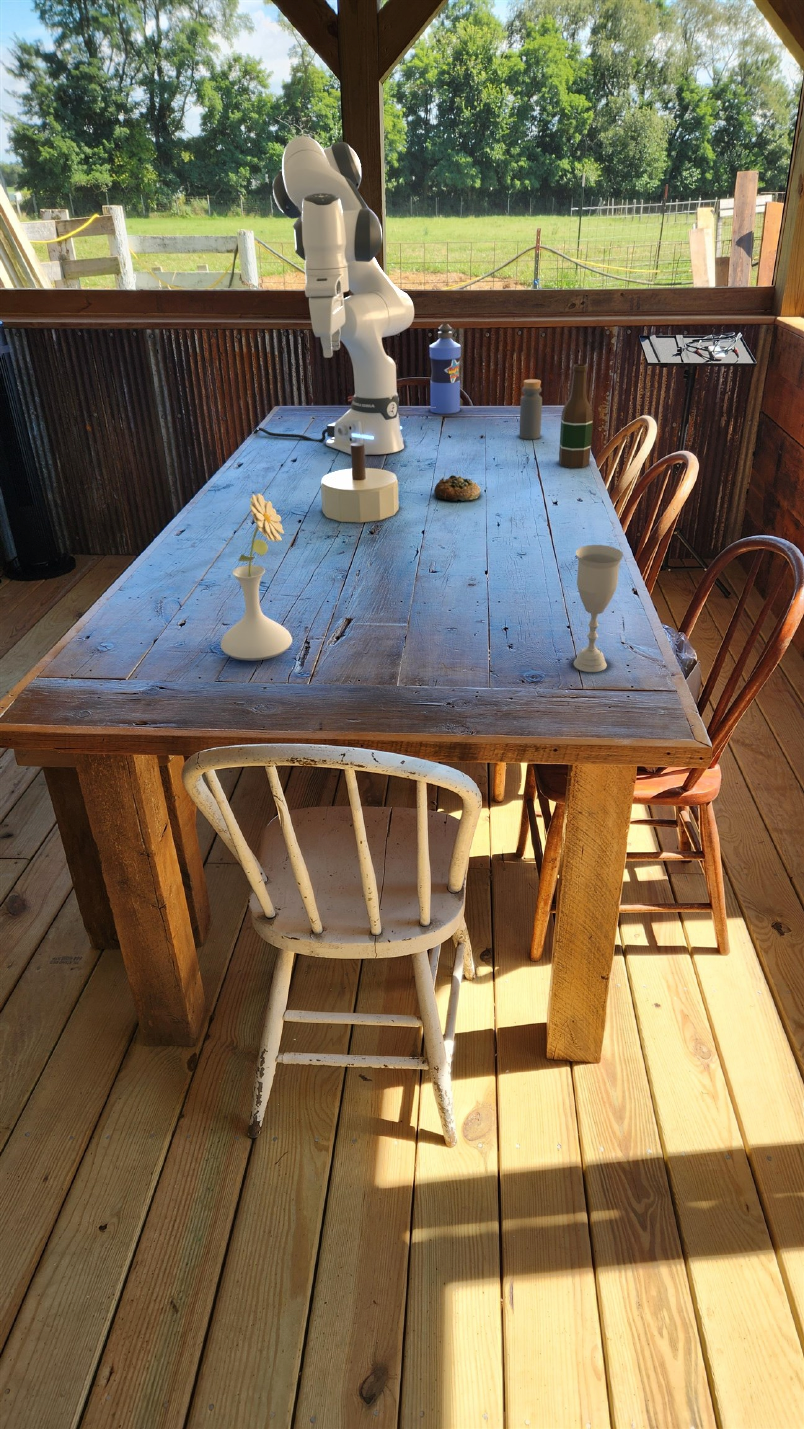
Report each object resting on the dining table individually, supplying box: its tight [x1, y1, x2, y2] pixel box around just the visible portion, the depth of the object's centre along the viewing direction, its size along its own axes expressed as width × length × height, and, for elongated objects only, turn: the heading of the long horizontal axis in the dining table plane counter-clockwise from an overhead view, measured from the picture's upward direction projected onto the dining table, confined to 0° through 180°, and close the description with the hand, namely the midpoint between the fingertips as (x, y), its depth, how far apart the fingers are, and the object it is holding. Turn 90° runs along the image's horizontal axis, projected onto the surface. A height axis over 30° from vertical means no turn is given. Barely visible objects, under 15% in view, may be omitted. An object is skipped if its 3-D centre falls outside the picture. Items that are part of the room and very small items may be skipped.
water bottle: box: [429, 323, 462, 415], centre depth 291 cm, size 9×9×25 cm
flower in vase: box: [220, 493, 293, 662], centre depth 149 cm, size 13×11×25 cm
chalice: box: [573, 544, 625, 673], centre depth 143 cm, size 7×7×18 cm
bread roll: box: [434, 474, 482, 502], centre depth 222 cm, size 11×11×5 cm
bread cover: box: [320, 443, 400, 524], centre depth 211 cm, size 17×17×15 cm
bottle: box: [518, 378, 543, 440], centre depth 263 cm, size 6×6×15 cm
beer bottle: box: [558, 363, 594, 469], centre depth 237 cm, size 8×8×24 cm
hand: (332, 353), depth 205 cm, fingers open, 8 cm apart
